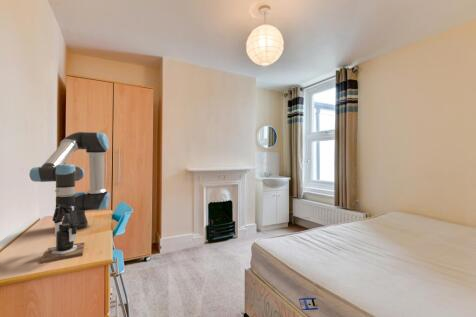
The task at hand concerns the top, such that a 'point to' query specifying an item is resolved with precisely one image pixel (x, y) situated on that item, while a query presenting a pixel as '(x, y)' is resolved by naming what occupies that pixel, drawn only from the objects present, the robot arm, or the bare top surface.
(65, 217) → the robot arm
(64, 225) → the supplement bottle
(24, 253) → the top surface
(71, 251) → the board
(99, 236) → the top surface
